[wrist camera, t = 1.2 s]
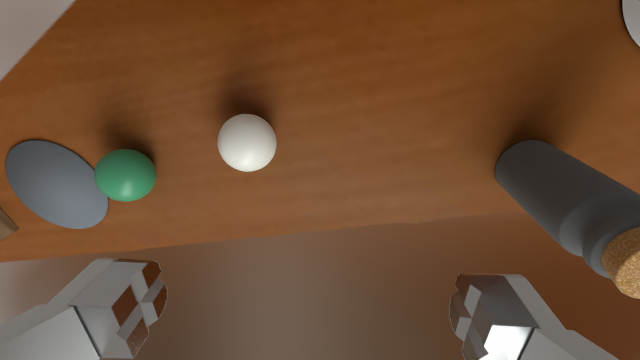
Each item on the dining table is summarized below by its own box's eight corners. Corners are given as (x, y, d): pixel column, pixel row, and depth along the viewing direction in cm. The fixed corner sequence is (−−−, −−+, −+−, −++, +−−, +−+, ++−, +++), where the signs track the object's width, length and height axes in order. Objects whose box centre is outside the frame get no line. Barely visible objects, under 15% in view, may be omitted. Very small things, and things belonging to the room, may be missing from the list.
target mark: (66, 128, 32) (65, 129, 32) (127, 217, 37) (126, 218, 37) (-16, 154, 35) (-18, 155, 34) (52, 235, 40) (50, 236, 39)
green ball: (150, 136, 32) (115, 155, 27) (175, 180, 34) (146, 205, 29) (108, 148, 33) (67, 169, 28) (135, 190, 35) (101, 216, 30)
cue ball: (270, 101, 29) (255, 115, 25) (288, 151, 32) (278, 173, 27) (220, 115, 30) (197, 132, 26) (241, 163, 33) (223, 186, 28)
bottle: (490, 150, 30) (607, 246, 17) (554, 130, 29) (736, 218, 15) (497, 197, 32) (605, 314, 19) (557, 181, 31) (717, 296, 18)
